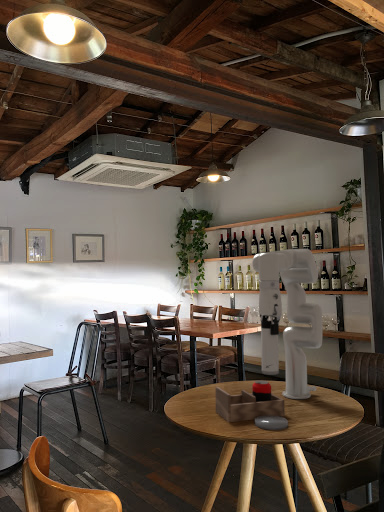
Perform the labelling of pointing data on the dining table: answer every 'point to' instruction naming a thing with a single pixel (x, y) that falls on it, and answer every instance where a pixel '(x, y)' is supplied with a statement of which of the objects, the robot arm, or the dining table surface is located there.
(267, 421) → the grey round plate
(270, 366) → the travel mug
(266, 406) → the walnut rack
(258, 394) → the soda can
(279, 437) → the dining table surface
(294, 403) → the dining table surface
